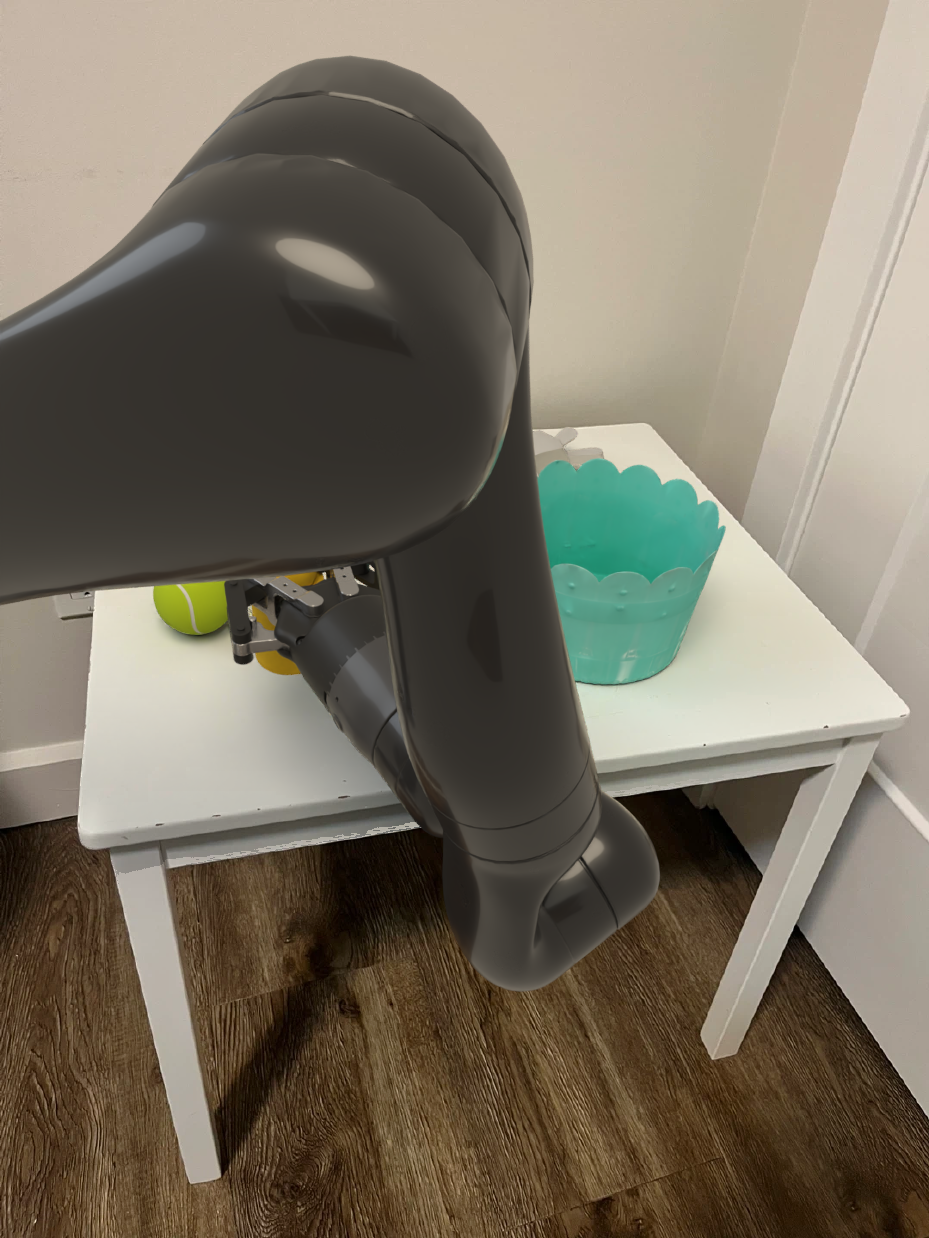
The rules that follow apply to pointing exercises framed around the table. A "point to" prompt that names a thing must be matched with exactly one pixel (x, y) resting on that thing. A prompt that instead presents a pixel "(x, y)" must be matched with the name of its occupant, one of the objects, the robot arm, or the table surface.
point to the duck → (273, 658)
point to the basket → (624, 564)
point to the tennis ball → (192, 606)
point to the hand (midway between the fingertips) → (270, 543)
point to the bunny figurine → (560, 449)
